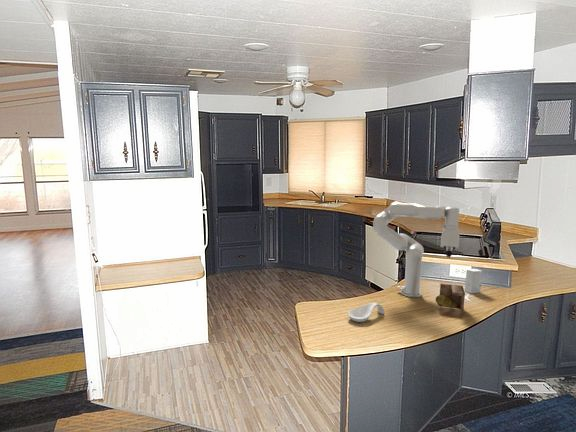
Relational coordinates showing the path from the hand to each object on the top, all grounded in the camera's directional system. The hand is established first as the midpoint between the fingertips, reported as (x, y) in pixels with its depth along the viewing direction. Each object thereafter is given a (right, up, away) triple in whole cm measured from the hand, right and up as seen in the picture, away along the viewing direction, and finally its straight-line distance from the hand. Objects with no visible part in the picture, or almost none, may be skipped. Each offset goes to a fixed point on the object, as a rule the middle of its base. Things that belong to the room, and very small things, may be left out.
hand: (448, 256), depth 256 cm
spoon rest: (-55, -31, -26) cm, 69 cm away
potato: (-6, -30, -13) cm, 33 cm away
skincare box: (+23, -25, +20) cm, 39 cm away
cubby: (-4, -30, -14) cm, 33 cm away
